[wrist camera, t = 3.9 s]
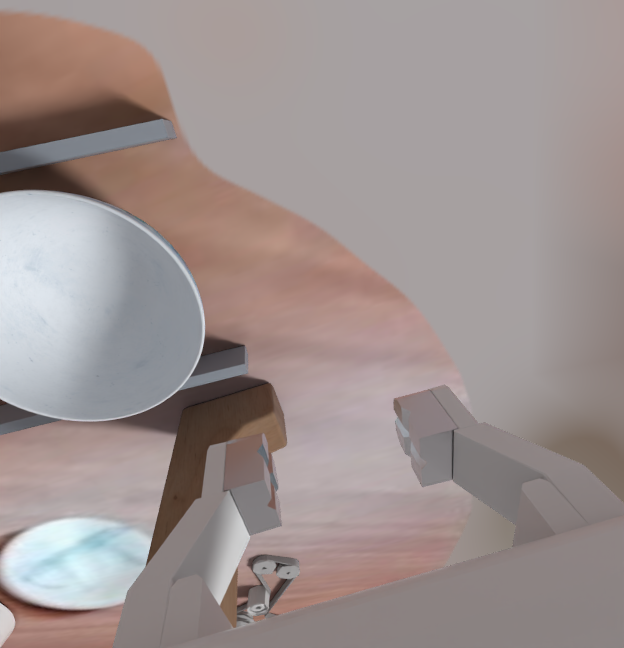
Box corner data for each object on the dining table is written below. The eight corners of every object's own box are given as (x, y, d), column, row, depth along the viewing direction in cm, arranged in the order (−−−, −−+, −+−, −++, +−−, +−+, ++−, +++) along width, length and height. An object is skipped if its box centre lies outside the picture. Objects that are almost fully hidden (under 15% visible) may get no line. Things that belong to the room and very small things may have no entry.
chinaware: (70, 124, 23) (-2, 118, 16) (251, 270, 29) (253, 309, 23) (-37, 289, 26) (-134, 341, 20) (145, 388, 33) (120, 453, 26)
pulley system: (244, 655, 61) (330, 635, 61) (242, 692, 56) (335, 671, 56) (184, 563, 48) (292, 537, 48) (176, 602, 44) (294, 575, 44)
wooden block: (271, 380, 35) (291, 582, 19) (284, 414, 37) (312, 620, 21) (181, 407, 34) (126, 635, 19) (199, 439, 37) (163, 668, 21)
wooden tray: (-77, 434, 31) (-130, 482, 27) (-291, 217, 22) (-424, 236, 18) (247, 354, 33) (248, 387, 28) (171, 121, 24) (154, 117, 19)
